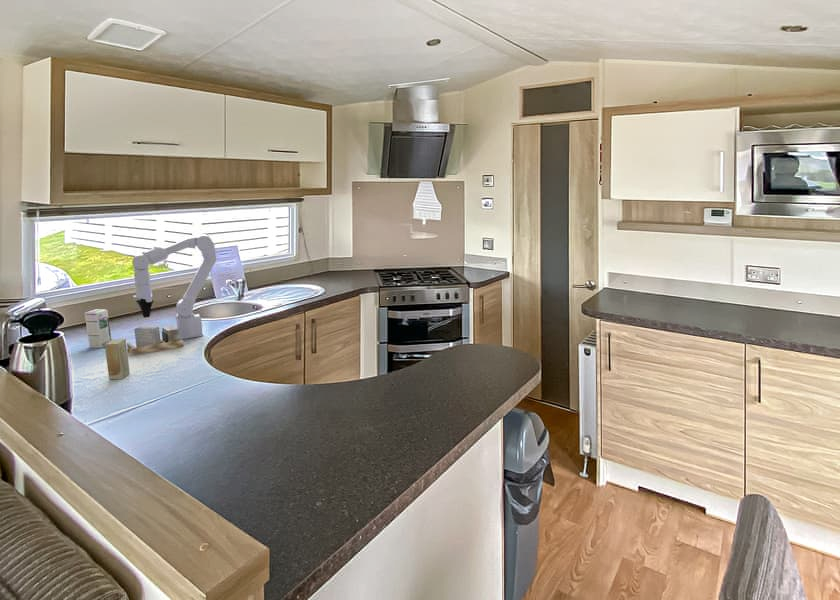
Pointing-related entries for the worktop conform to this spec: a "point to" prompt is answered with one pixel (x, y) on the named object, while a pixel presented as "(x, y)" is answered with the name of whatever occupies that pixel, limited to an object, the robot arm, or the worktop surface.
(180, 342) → the wooden rack
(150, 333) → the medicine box
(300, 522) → the worktop surface
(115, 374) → the skincare box
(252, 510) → the worktop surface
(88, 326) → the syrup box
